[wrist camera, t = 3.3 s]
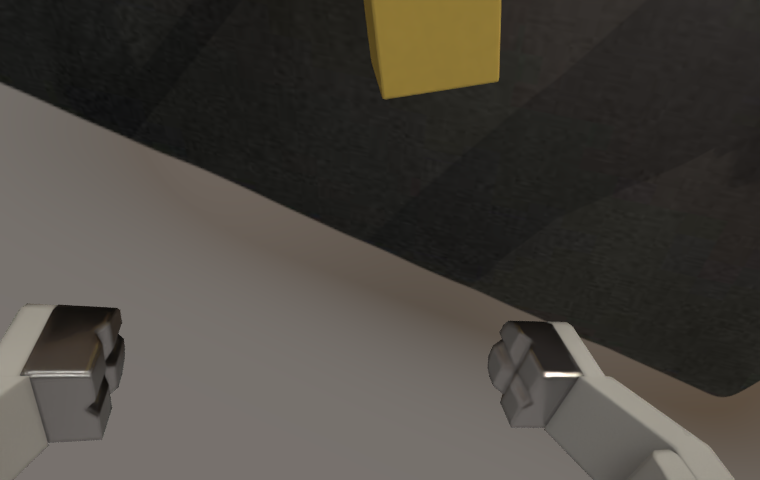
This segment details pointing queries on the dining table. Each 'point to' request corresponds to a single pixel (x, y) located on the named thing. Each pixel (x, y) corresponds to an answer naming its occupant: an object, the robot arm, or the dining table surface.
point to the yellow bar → (433, 44)
